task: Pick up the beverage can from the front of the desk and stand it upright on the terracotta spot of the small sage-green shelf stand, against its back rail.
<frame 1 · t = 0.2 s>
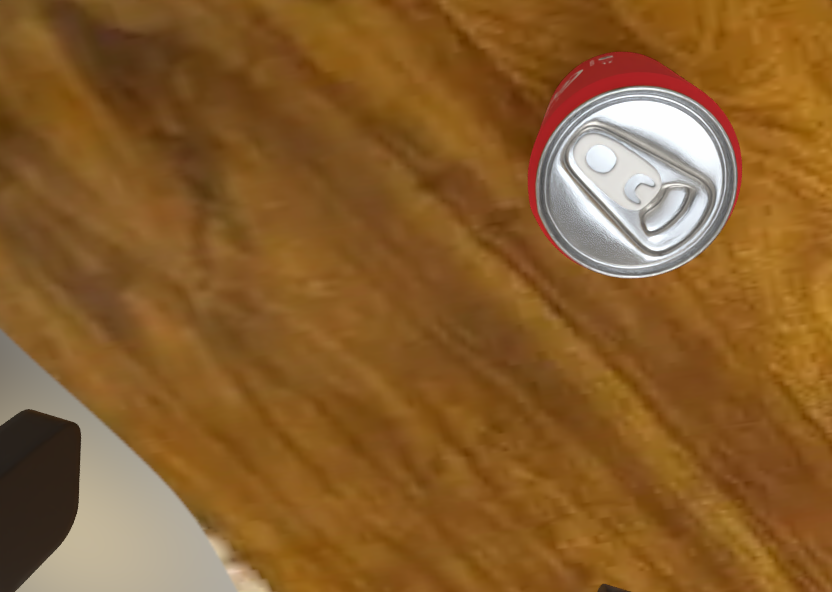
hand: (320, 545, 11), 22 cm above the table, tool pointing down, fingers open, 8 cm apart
beverage can: (614, 120, 30), on the table
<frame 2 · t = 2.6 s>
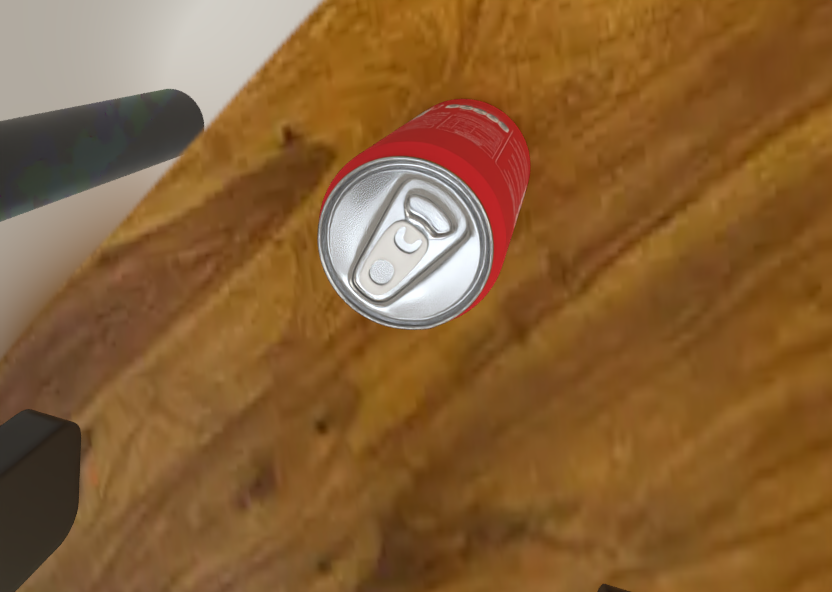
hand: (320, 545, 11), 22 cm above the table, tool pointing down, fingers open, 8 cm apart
beverage can: (467, 160, 31), on the table
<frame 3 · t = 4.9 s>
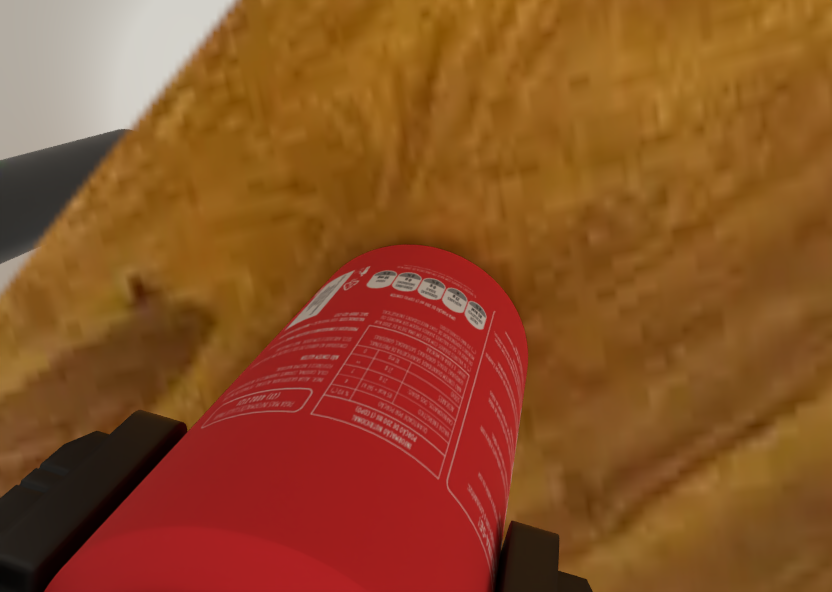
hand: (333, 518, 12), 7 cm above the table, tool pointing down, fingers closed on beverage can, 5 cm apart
beverage can: (425, 330, 19), on the table, touching gripper
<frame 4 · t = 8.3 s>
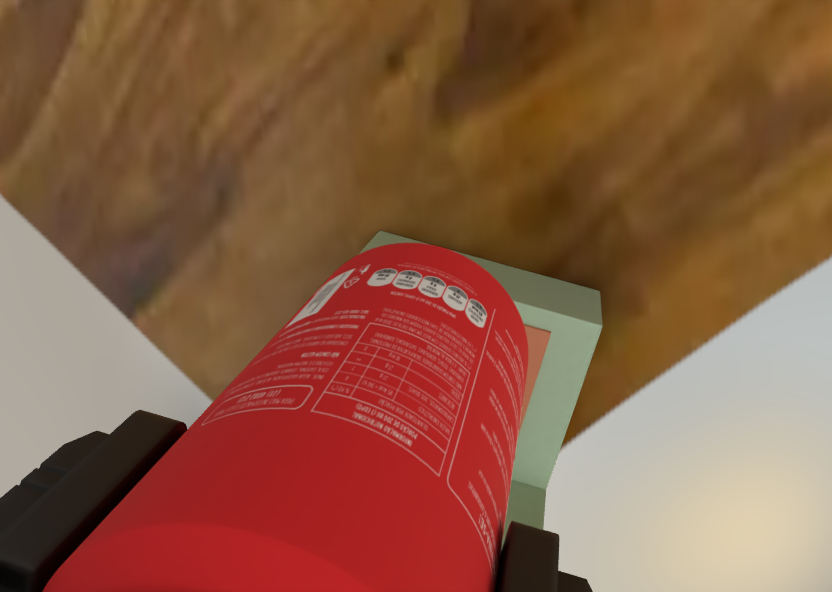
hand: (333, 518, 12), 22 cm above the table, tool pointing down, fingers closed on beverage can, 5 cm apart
beverage can: (425, 328, 19), point 15 cm above the table, touching gripper
shelf stand: (463, 349, 35), on the table
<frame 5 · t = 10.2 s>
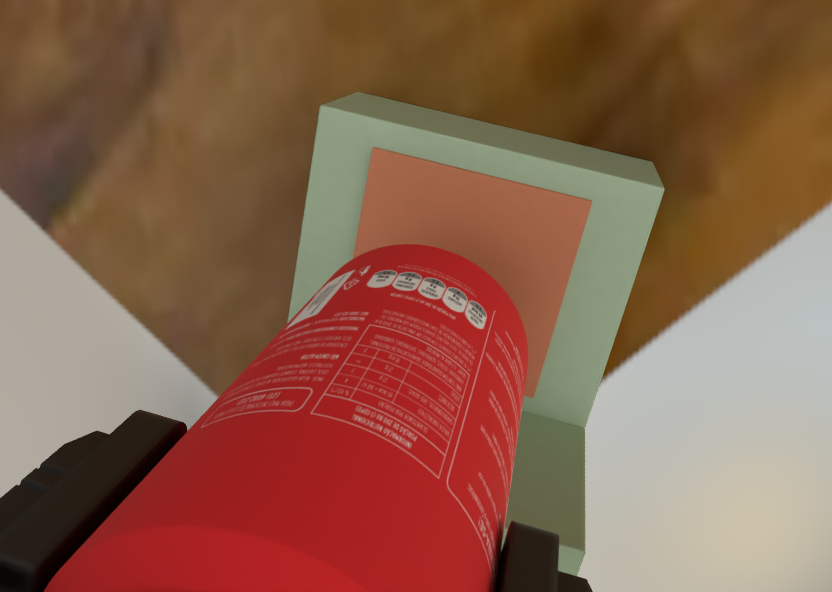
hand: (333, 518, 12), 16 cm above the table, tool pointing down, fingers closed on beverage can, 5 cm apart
beverage can: (425, 329, 19), point 8 cm above the table, touching gripper
shelf stand: (471, 252, 27), on the table
when the fingers open (12 cm above the table, at t = 11.8 s): beverage can stays where it is, resting on shelf stand.
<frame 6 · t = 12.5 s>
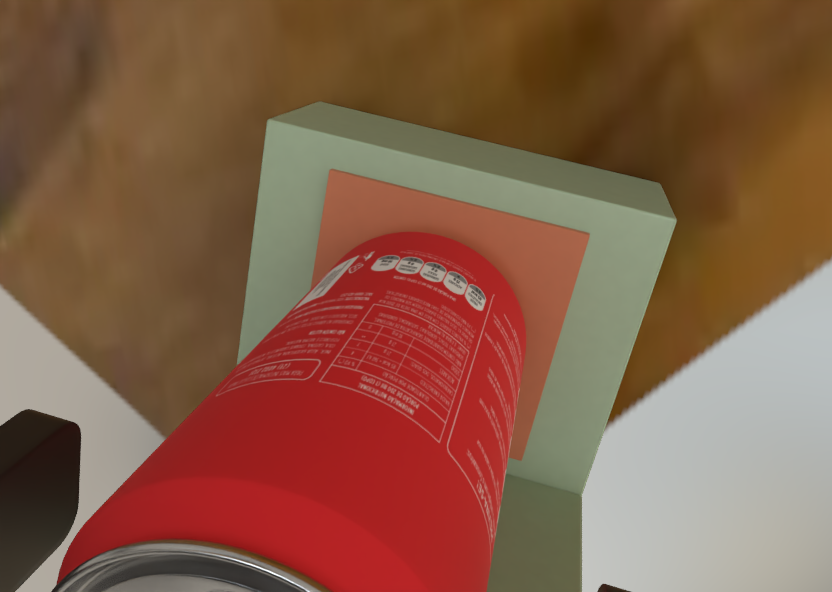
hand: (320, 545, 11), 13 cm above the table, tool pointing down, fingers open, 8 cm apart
beverage can: (427, 316, 20), point 4 cm above the table, touching shelf stand
shelf stand: (451, 285, 23), on the table
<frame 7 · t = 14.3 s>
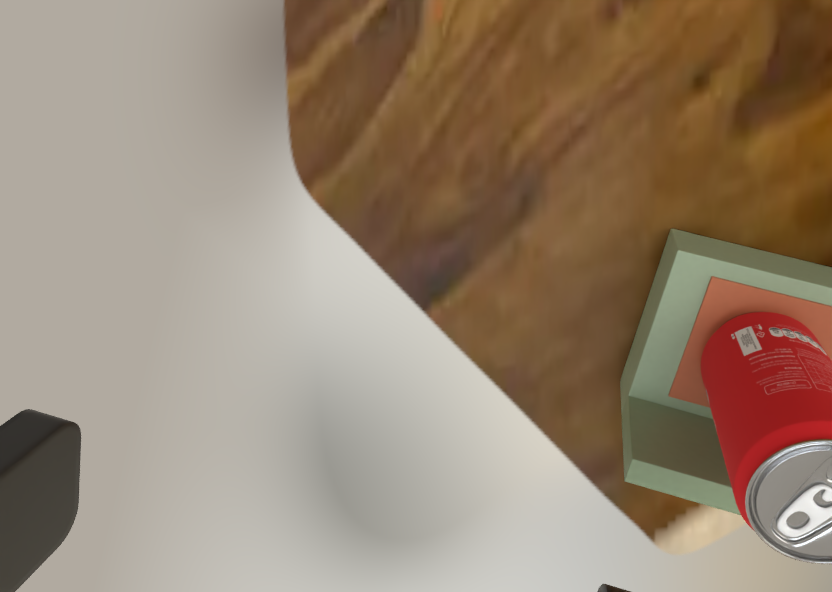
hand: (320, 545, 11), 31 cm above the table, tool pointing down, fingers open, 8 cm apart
beverage can: (755, 353, 36), point 4 cm above the table, touching shelf stand
shelf stand: (740, 332, 40), on the table
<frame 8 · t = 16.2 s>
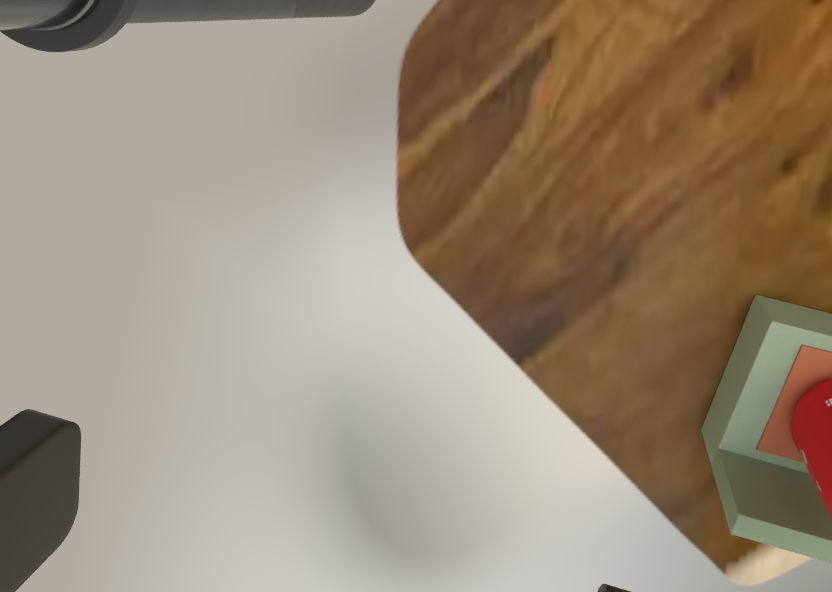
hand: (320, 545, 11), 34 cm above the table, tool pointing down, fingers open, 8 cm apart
shelf stand: (814, 387, 44), on the table
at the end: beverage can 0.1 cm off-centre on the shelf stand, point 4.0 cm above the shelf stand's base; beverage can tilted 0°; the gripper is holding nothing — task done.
